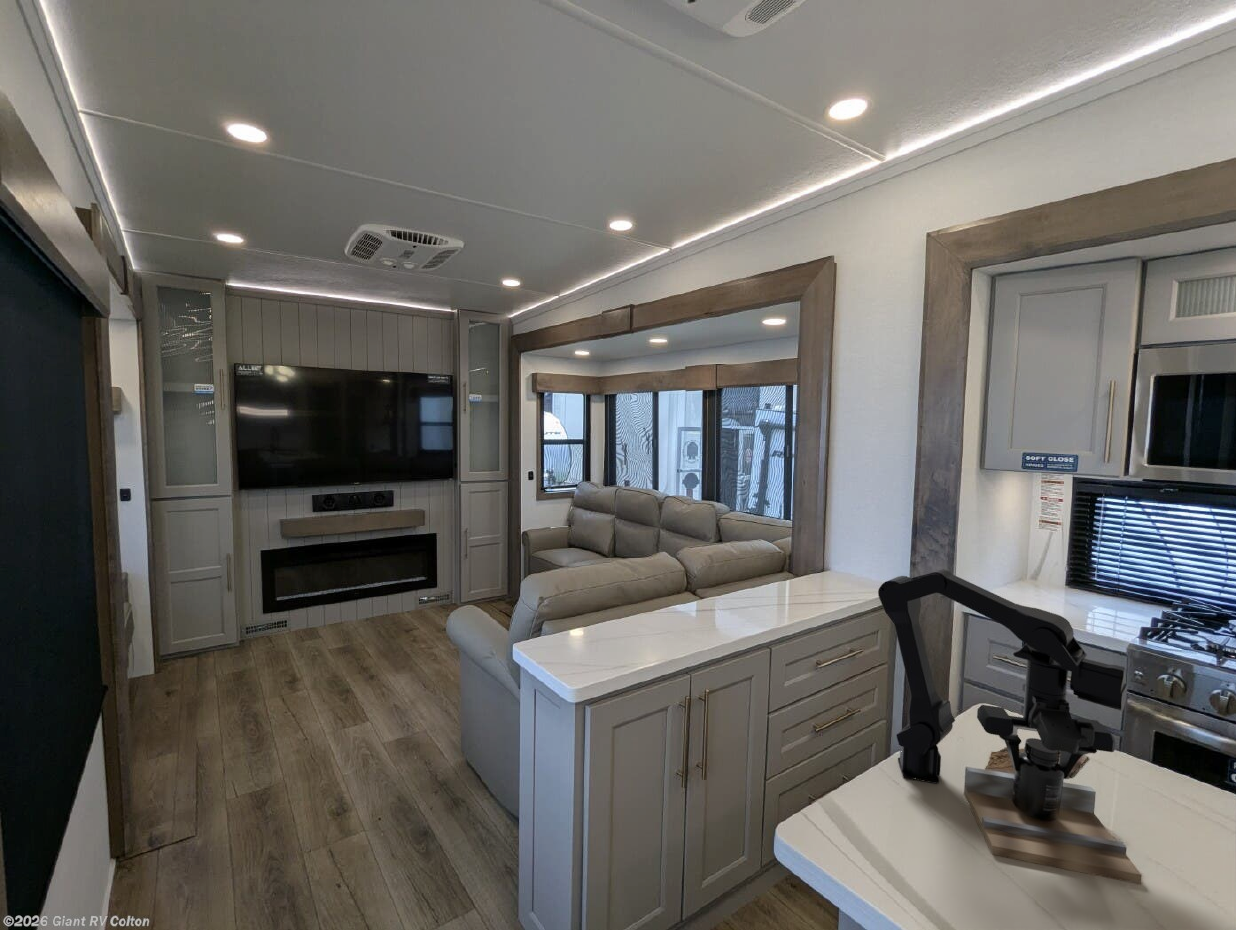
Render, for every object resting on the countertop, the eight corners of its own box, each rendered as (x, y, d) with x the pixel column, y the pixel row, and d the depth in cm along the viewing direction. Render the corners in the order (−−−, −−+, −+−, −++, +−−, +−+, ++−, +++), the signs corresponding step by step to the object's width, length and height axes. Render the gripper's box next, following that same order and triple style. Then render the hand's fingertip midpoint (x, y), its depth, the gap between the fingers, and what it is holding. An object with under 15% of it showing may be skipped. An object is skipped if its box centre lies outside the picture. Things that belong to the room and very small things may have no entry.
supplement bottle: (1052, 803, 103) (1062, 741, 101) (1063, 828, 97) (1073, 762, 95) (1007, 791, 106) (1015, 730, 104) (1014, 814, 99) (1024, 750, 98)
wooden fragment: (1061, 743, 127) (1062, 739, 127) (1112, 773, 116) (1112, 768, 116) (960, 755, 123) (960, 750, 122) (1003, 787, 112) (1003, 782, 112)
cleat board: (991, 854, 94) (993, 822, 93) (963, 793, 109) (965, 766, 109) (1140, 883, 88) (1143, 850, 88) (1089, 815, 103) (1091, 786, 103)
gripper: (999, 701, 94) (993, 791, 95) (1138, 719, 89) (1129, 814, 90) (978, 672, 105) (973, 754, 106) (1101, 687, 99) (1093, 773, 101)
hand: (1039, 773), depth 100 cm, fingers closed on supplement bottle, 7 cm apart
